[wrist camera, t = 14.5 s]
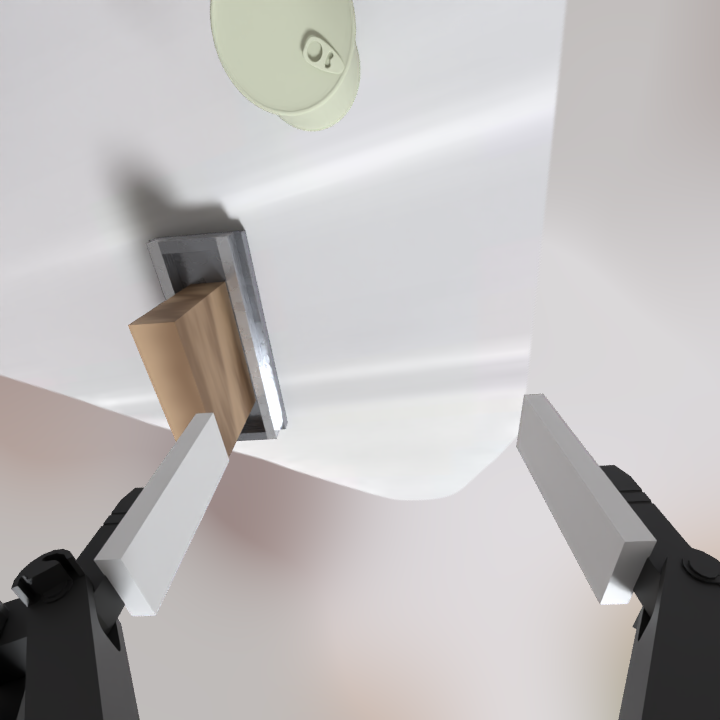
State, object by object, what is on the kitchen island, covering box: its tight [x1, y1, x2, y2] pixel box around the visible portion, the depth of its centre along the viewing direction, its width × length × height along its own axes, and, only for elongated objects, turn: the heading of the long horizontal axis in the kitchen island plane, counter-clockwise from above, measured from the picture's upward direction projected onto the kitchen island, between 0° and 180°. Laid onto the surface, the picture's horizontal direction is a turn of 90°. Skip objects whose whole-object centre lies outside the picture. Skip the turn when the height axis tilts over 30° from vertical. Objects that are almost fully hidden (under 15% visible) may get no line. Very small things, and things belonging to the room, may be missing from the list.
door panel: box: [128, 282, 256, 458], centre depth 39 cm, size 5×16×12 cm, turn 5°
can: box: [210, 0, 360, 131], centre depth 28 cm, size 9×9×12 cm
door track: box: [146, 230, 287, 441], centre depth 44 cm, size 10×26×4 cm, turn 5°
